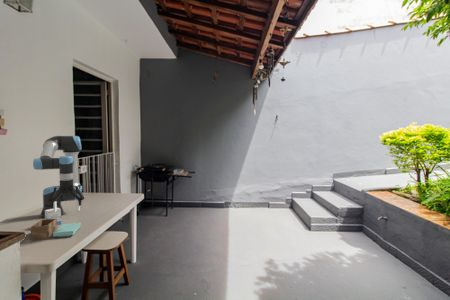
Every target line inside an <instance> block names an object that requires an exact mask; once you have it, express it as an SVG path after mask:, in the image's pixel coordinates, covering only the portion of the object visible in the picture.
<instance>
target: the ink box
mask: <svg viewBox="0 0 450 300" xmlns="http://www.w3.org/2000/svg"><path fill="white" fill-rule="evenodd" d="M44 219H57V226H59V225H60V226H61V225H62V215H61V209H60V208H57V211H56V212H54V209H49V210H45V218H44Z"/></svg>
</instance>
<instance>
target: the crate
mask: <svg viewBox="0 0 450 300" xmlns="http://www.w3.org/2000/svg"><path fill="white" fill-rule="evenodd" d="M57 229H58V225H57V219H45V218H43V219H40V220H39V221H37V222H36V223H34V224H33V225H32V226H30V240H31V241H34V240H35V241H36V240H45V239H46V240H47V239H49V238H50V237H51V236H53V232H54V231H56V230H57Z"/></svg>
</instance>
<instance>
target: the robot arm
mask: <svg viewBox="0 0 450 300" xmlns="http://www.w3.org/2000/svg"><path fill="white" fill-rule="evenodd" d="M81 150H82V141H81V138H80V136H78V135H55V136H52V137H48V139H46V140H45V141H44V142H43V144H42V150H41V153H40V156H39V157H38V158H33V161H32V162H33V163H32V165H33V167H32V168H33V169H34V170H37V171H39V170H40V171H42V170H59V173H58V174H59V175H58V176H59V185H53V186H49V187H46V188H44V189H43V190H42V205H43V206H42V210H41V212H40V218H42V219H45V210H49V209H54V212H56V211H57V208H60V209H61V216H63V215H64V214H65V213H64V212H65V211H64V209H63V206H62V202H69V201H70V202H71V201H76V203H77V204H76V205H77V206H76V208H77V209H76V211H77V212H79V211H80V210H81V205H82V201H83V200H85V197H84V195H83V193H82V191H83V186H82V185H81V183H80V182H79V166H78V165H79V164H78V163H79V162H78V161H79V160H78V155H79V153H80V152H81ZM56 151H62V153H63V154H64V155H62V156H59V157H55V153H56Z"/></svg>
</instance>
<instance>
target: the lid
mask: <svg viewBox="0 0 450 300" xmlns="http://www.w3.org/2000/svg"><path fill="white" fill-rule="evenodd" d="M81 227H82V226H81V222H77V223H76V222H75V223H61V224H60V226H59V227H57V230H56V231H54V232H53V234H52V237H54V238H55V237H58V238H63V237H65V238H66V237H71V236H73V235H74V234H75V233H77V232H78V230H79V229H80V228H81Z"/></svg>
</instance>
